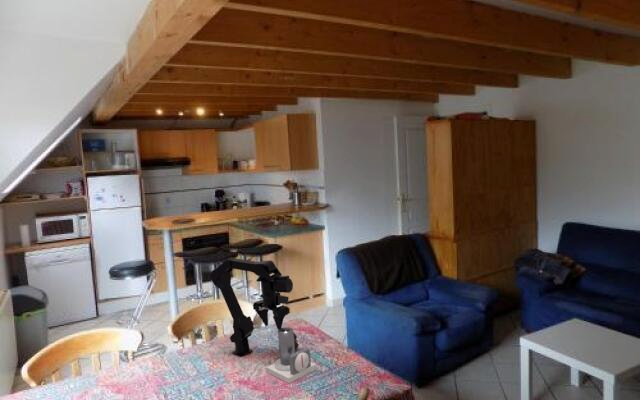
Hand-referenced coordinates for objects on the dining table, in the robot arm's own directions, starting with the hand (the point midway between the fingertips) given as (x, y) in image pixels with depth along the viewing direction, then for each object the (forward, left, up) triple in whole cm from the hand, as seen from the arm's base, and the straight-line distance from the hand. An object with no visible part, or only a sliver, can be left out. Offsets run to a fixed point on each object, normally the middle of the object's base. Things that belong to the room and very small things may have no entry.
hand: (273, 327), depth 179 cm
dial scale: (+14, -3, -13) cm, 19 cm away
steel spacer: (+12, -3, -10) cm, 16 cm away
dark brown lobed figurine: (-5, +13, -14) cm, 20 cm away
